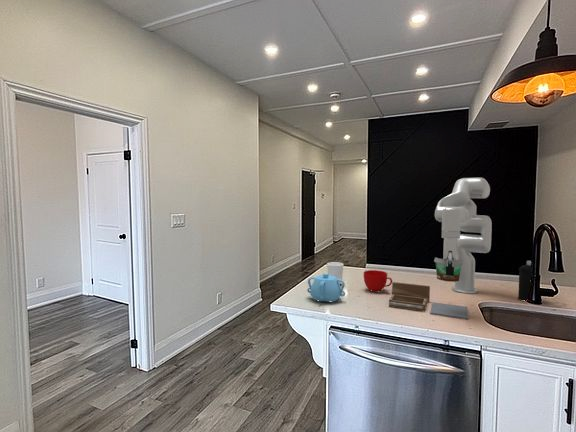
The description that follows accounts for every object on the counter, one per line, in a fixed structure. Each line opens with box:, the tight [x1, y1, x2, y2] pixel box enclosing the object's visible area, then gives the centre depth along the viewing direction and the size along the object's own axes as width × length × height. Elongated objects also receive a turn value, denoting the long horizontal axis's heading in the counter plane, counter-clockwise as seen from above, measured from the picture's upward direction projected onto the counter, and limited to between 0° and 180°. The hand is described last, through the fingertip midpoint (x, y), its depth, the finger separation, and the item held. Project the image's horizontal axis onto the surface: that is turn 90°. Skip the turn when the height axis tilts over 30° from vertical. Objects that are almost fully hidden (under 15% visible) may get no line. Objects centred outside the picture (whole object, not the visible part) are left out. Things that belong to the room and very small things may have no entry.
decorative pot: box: [306, 272, 346, 302], centre depth 167 cm, size 16×16×14 cm
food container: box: [433, 256, 463, 283], centre depth 147 cm, size 12×6×10 cm, turn 77°
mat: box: [429, 301, 469, 321], centre depth 149 cm, size 16×15×1 cm
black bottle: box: [517, 260, 532, 301], centre depth 163 cm, size 8×8×20 cm
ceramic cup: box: [363, 269, 393, 292], centre depth 181 cm, size 13×17×10 cm
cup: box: [326, 261, 344, 285], centre depth 195 cm, size 10×10×13 cm
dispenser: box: [388, 281, 431, 312], centre depth 159 cm, size 17×18×8 cm
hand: (449, 273), depth 148 cm, fingers closed on food container, 6 cm apart
